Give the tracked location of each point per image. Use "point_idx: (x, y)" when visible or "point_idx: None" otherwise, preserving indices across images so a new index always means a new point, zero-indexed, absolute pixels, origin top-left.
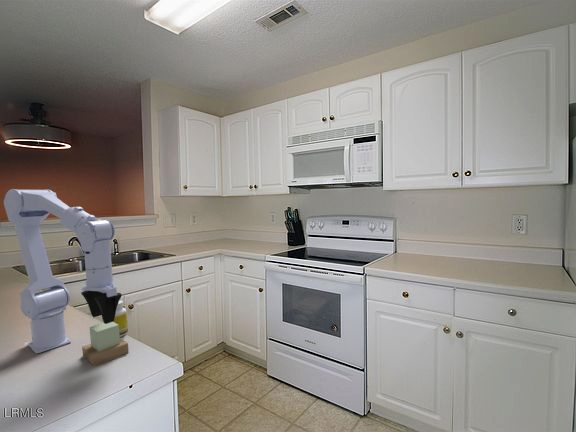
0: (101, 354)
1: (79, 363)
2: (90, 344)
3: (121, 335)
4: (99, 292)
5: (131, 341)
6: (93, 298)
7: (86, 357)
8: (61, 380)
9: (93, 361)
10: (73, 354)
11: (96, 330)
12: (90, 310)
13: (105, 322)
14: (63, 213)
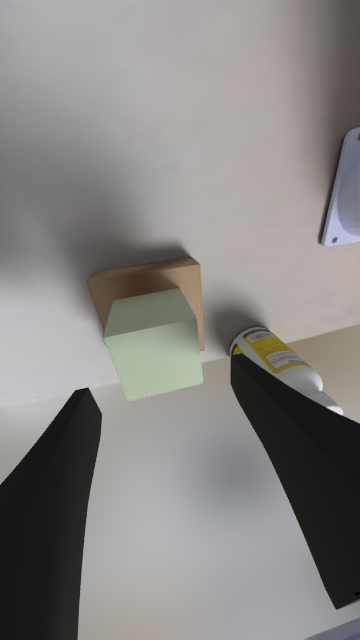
0: (96, 302)
1: (148, 240)
2: (196, 287)
3: (230, 353)
4: (324, 544)
5: None
6: (304, 470)
7: (160, 263)
8: (52, 168)
9: (94, 275)
10: (230, 237)
11: (125, 336)
12: (260, 375)
13: (71, 398)
14: None
